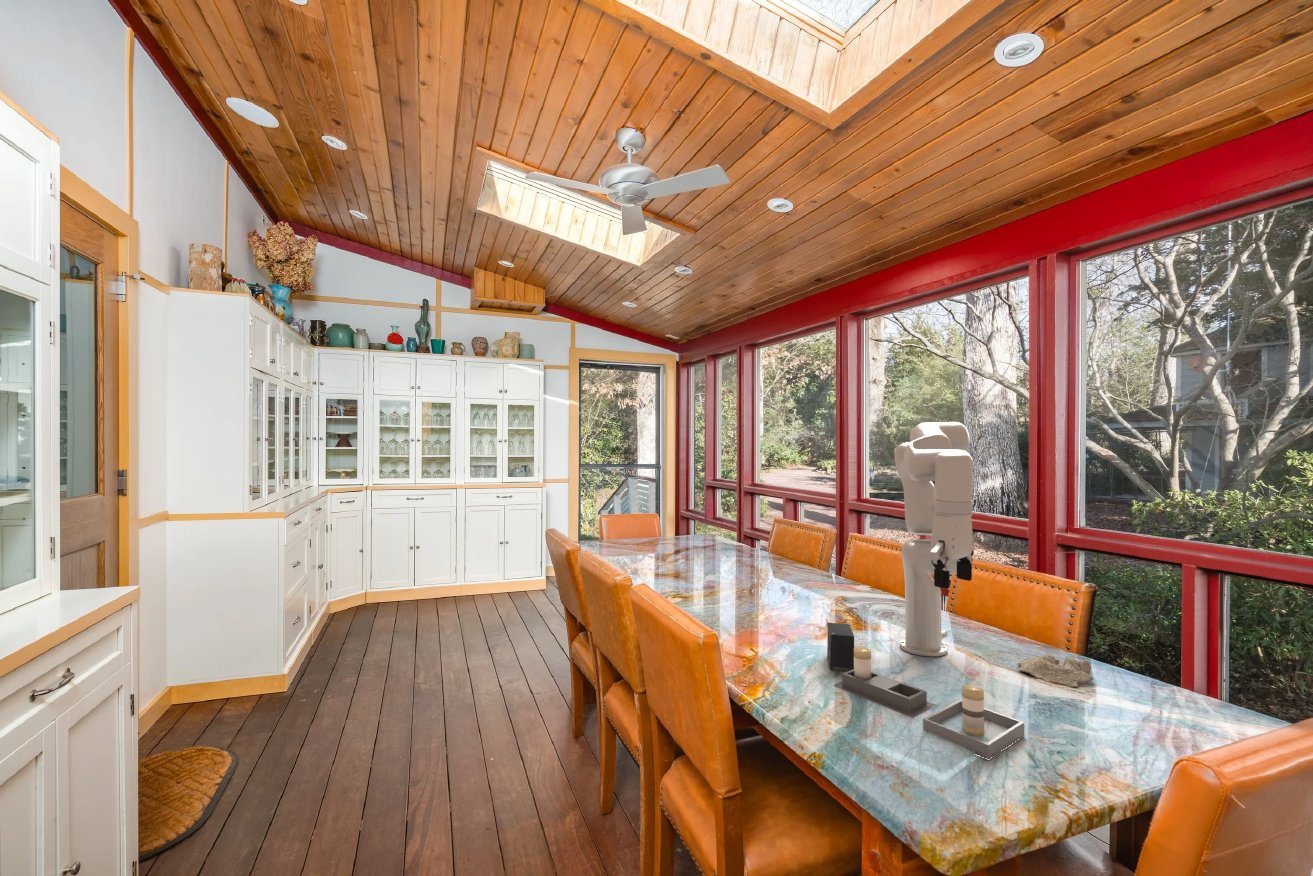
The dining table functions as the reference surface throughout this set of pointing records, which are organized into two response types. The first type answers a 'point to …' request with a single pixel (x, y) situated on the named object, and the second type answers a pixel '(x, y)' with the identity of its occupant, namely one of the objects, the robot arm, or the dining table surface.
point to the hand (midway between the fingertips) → (953, 583)
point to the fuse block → (887, 693)
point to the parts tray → (981, 747)
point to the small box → (840, 647)
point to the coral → (1058, 670)
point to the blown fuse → (973, 709)
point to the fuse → (862, 663)
